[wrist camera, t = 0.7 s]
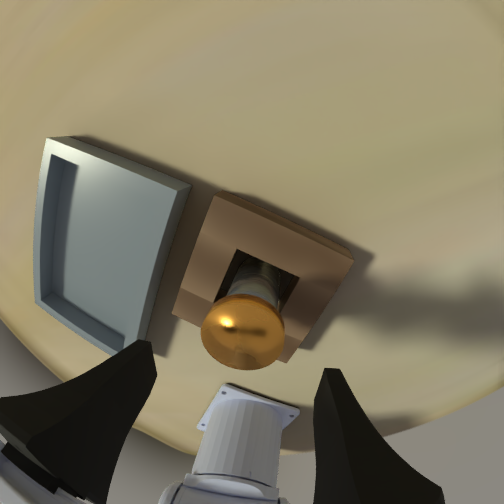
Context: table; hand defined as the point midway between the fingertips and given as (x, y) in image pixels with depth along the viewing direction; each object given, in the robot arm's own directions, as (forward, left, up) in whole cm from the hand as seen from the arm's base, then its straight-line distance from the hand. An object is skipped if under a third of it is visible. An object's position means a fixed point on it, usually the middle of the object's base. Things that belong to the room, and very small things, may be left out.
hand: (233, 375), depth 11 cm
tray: (-4, +13, -9) cm, 16 cm away
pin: (0, 0, -9) cm, 9 cm away
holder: (0, 0, -9) cm, 9 cm away
